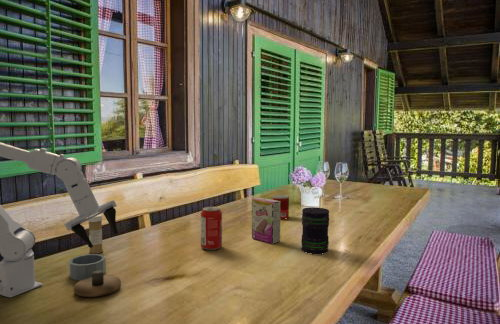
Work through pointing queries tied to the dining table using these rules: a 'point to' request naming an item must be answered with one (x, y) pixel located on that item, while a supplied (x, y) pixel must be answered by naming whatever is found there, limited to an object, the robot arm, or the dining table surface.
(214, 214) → the soda can
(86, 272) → the bowl
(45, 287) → the dining table surface
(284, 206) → the canned food
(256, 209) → the candy bar box
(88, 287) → the lid
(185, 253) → the dining table surface
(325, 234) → the storage jar
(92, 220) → the sprinkles bottle
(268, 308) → the dining table surface
